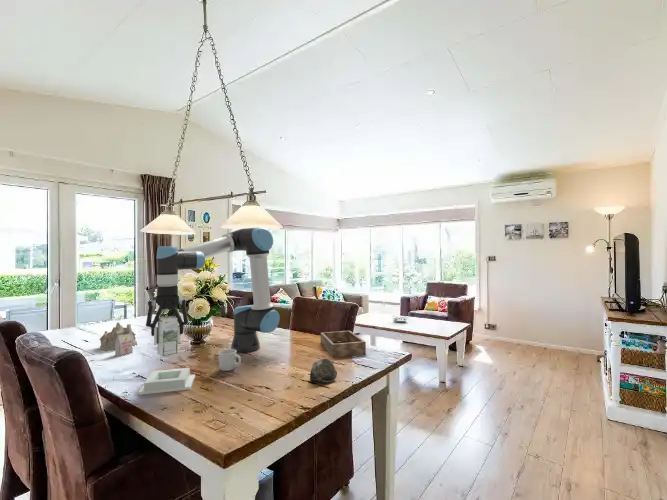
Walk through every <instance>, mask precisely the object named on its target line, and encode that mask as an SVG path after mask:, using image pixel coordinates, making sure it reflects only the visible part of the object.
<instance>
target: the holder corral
mask: <svg viewBox="0 0 667 500" xmlns="http://www.w3.org/2000/svg"><path fill="white" fill-rule="evenodd" d="M337 341H345V342H338V343H333V342H337ZM320 344H321V345H322V346H324V347H325V348H324V347H323V348H324V349H325V350H326V352H328V354H329V355H330V356H331V357H333V358H334V357H343V356H345V357H346V356H354V355H355V356H356V355H366V354H367V351H366V350H367V349H366V347H367V346H366V341H365V340H364V339H362V338H361V337H359V336H358V335H357V334H356V333H354V332H353V331H351V330H342V331H341V330H340V331H327V332H326V331H325V332H320Z"/></svg>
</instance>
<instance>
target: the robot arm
mask: <svg viewBox="0 0 667 500" xmlns="http://www.w3.org/2000/svg"><path fill="white" fill-rule="evenodd" d="M273 245H274V237H273V234H272V233H271V232H270V231H269V229H267V228H266V227H258V226H257V227H248V228H245V227H244V228H239V229H237V230H234V231H231V232H229V233H228V232H227V233H225V234H222V236H221V237H218V238H215V239H210V240H207V241H203V242H200V243H196V244H193V245H190V246H186V247H183V248H178V246H172V245H170V246H168V245H167V246H164V245H163V246H158V247H157V250H156V285H157V287H156V299H154V300H152V299H151V300H149V301H147V305H148V310H147V316H146V322H145V326H146V327H147V328H150V329H151V333H150V334H151V335H150V336H151V337H153V345H154V346H156V345H157V346H158V326H157V325H158V319H159V317H161V315H162V312H163V311H164V310H167V309H168V310H172V312H173V316H175V317H176V318H178V319H177V321H178V327H177V343H178V344H180V343H181V338H182V337H181V335H183V334H184V326H185V325H188V323H189V316H188V311H187V305H186V304H187V299H186V298H184V299H183V298H180V297H179V286H178V283H179V282H178V281H179V271H180V270H199V269H202V268H204V267H205V264H206V259H207V258H208V259H209V258H210V257H213V256H217V255H219V254H223V253H226V252H227V253H232V252H238V251H239V252H240V251H242V252H243V251H245V253H246V254H245V255H246V256H247V257H248V258H249V266H250V277H251V288H252V299H253V300H252V301H253V304H249V305H242V306H237V307H235V308H234V309H233V310H234V311H233V330H234V331H233V338H232V341H231V344H230V349H234V350H236V351H237V353H248V352H254V351H257V350H259V349H260V347H261V345H260V344H261V343H260V341H259V337H258V334H257V332H260V333H263V334H264V333H265V334H266V333H267V334H268V333H269V334H271V333H272V332H274V331H275V330H276V329H277V327H278V326H279V324H280V319H281V318H280V313H279V312H278V311H277V310H276V309H275V304H274V303H272V302H271V292H270V290H271V289H270V281H269V280H270V279H269V267H268V255H269V254H270V250H271V249H272V248H273ZM178 303H179V305H181V312H182V316H183V317H182V316H181V314H180V312H179V310H178V308H177V304H178ZM156 304H157V305H158V309H157V312H156V314H155V316H154V319H153V312H154V306H156ZM182 318H183V319H182ZM152 319H153V321H152Z"/></svg>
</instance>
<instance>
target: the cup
mask: <svg viewBox="0 0 667 500" xmlns="http://www.w3.org/2000/svg"><path fill="white" fill-rule="evenodd" d="M237 353H238V352H237V351H236V350H234V349H231V348H226V349H221V350H219V351H217V358H218V365H219V369H220V371H222V372H229V371H233V370H234V369H235V368H236V366H240V365H241V362H242V358H241V356H240V355H239V354H237ZM237 359H238V362H237Z"/></svg>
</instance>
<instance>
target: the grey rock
mask: <svg viewBox="0 0 667 500" xmlns="http://www.w3.org/2000/svg"><path fill="white" fill-rule="evenodd" d="M126 334H131V338H132V346H133V347H136V346H138V342H137V340H136V334H135V332H133V330H132V325H131V324H130V323H127V324H126V327H123V325H121V323H120V322H119V321H118V322H116V325H115V326H113V328H112V330H111V331H109V332H108V331H107V330H105V331H104V333H103V335H102V336H100V338H99V341H100V346H99V349H100V350H101V351H108V350H111V351H112V350H113V351H115V343H116V339H117V336H121V335H126ZM135 345H136V346H135Z"/></svg>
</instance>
